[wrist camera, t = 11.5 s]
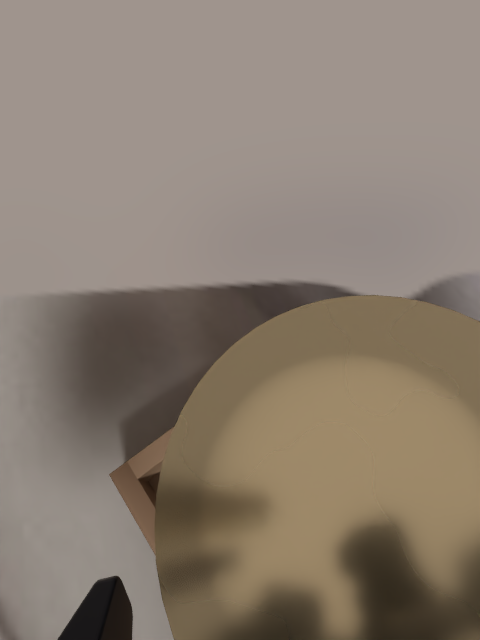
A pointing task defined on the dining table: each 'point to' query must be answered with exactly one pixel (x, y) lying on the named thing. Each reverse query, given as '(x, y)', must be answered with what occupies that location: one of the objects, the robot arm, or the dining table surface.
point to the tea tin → (329, 480)
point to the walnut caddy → (143, 484)
